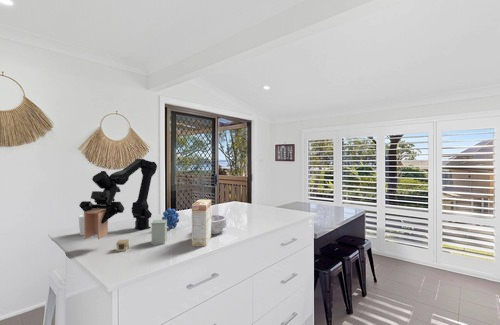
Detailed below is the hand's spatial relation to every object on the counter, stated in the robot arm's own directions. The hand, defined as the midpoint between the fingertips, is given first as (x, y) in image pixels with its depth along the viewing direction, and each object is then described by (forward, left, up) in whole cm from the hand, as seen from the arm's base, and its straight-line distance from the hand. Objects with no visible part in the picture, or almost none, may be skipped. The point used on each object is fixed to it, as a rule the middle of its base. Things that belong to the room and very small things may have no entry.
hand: (94, 223), depth 117 cm
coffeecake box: (-38, +28, -12) cm, 49 cm away
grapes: (-42, -2, -12) cm, 44 cm away
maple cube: (-8, +9, -12) cm, 17 cm away
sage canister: (-24, +13, -12) cm, 30 cm away
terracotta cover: (-1, -1, -7) cm, 7 cm away
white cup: (-8, -29, -12) cm, 32 cm away
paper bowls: (-52, +21, -12) cm, 58 cm away
